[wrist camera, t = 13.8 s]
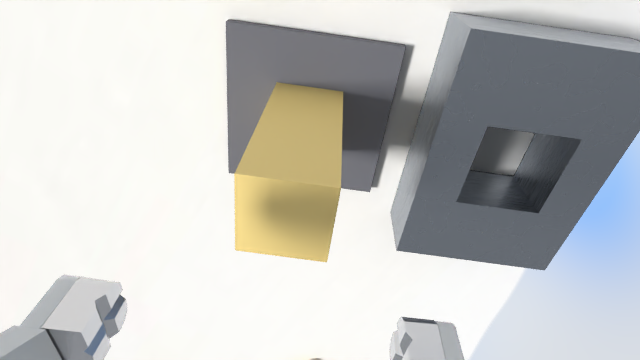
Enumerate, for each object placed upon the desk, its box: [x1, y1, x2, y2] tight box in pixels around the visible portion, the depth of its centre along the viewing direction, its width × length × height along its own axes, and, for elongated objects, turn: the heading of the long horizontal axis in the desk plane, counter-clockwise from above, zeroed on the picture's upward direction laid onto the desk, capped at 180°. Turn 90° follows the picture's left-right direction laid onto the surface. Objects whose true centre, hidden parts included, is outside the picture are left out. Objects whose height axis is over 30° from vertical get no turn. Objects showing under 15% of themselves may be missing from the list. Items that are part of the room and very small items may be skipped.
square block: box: [235, 82, 343, 262], centre depth 19 cm, size 4×4×10 cm
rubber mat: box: [226, 20, 406, 192], centre depth 23 cm, size 10×10×1 cm
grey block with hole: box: [391, 12, 640, 270], centre depth 22 cm, size 14×10×4 cm
